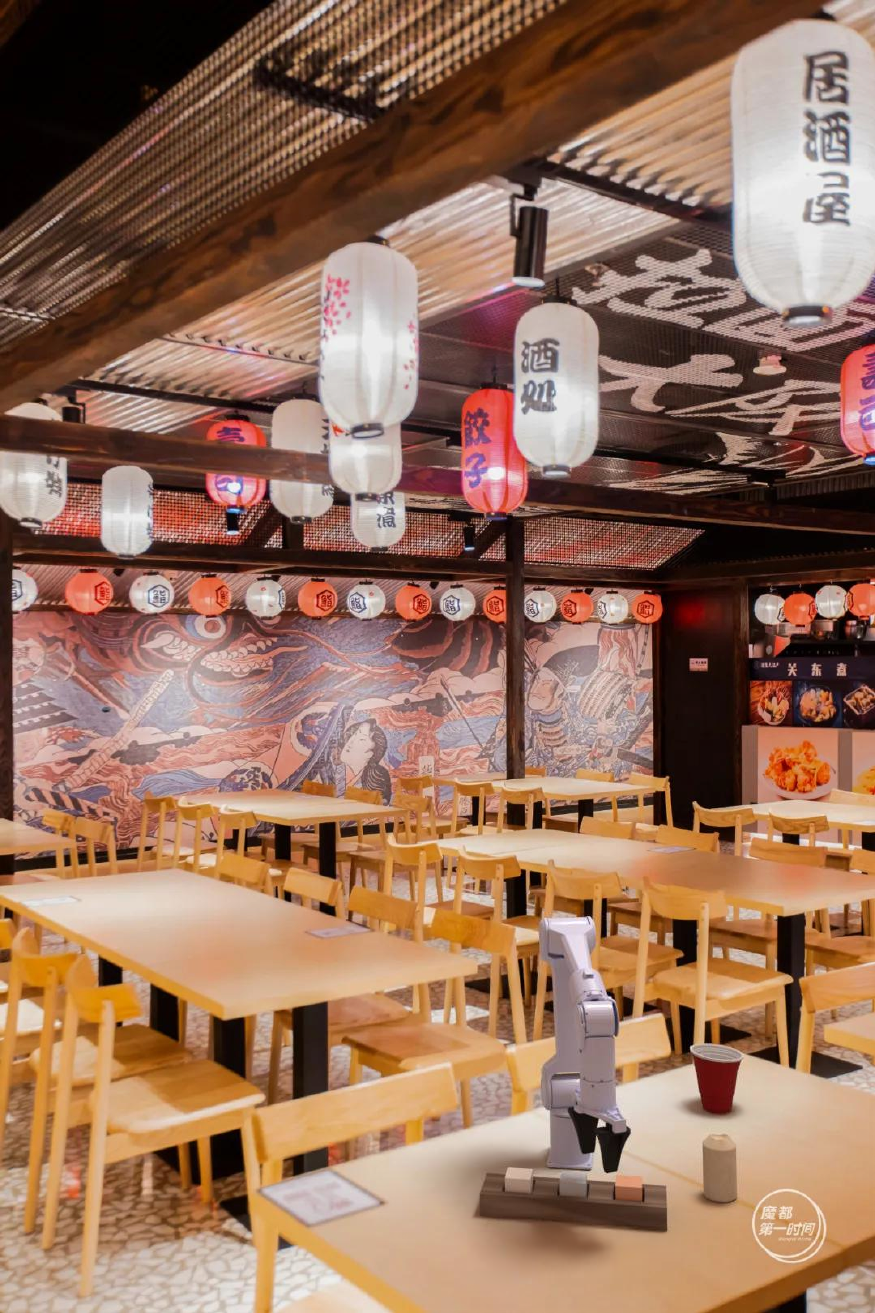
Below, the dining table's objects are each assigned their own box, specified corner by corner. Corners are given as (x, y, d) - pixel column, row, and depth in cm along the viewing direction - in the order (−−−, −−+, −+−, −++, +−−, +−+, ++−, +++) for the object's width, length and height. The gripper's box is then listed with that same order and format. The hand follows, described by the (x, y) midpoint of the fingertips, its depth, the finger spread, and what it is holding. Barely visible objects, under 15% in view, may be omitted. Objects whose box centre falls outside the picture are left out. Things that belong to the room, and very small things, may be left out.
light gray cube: (561, 1192, 181) (561, 1171, 181) (587, 1194, 180) (586, 1173, 180) (559, 1204, 177) (559, 1182, 177) (585, 1206, 176) (585, 1184, 176)
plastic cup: (751, 1119, 217) (750, 1058, 217) (697, 1119, 217) (696, 1058, 218) (737, 1099, 228) (736, 1041, 228) (685, 1099, 228) (684, 1041, 228)
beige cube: (508, 1188, 183) (507, 1167, 183) (533, 1190, 182) (532, 1169, 182) (505, 1199, 179) (504, 1178, 179) (530, 1201, 178) (530, 1180, 178)
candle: (731, 1187, 186) (730, 1128, 187) (741, 1202, 181) (740, 1141, 181) (699, 1188, 186) (698, 1129, 187) (708, 1203, 181) (707, 1142, 181)
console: (487, 1194, 185) (486, 1173, 185) (666, 1207, 179) (666, 1186, 180) (479, 1215, 177) (479, 1193, 178) (667, 1230, 172) (666, 1208, 172)
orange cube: (616, 1196, 179) (616, 1175, 179) (642, 1198, 178) (641, 1176, 179) (615, 1208, 175) (615, 1186, 175) (642, 1210, 174) (641, 1188, 174)
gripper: (555, 1065, 181) (556, 1148, 180) (597, 1095, 167) (598, 1184, 167) (592, 1060, 183) (594, 1142, 183) (637, 1088, 170) (639, 1177, 169)
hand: (599, 1162), depth 175 cm, fingers open, 7 cm apart
